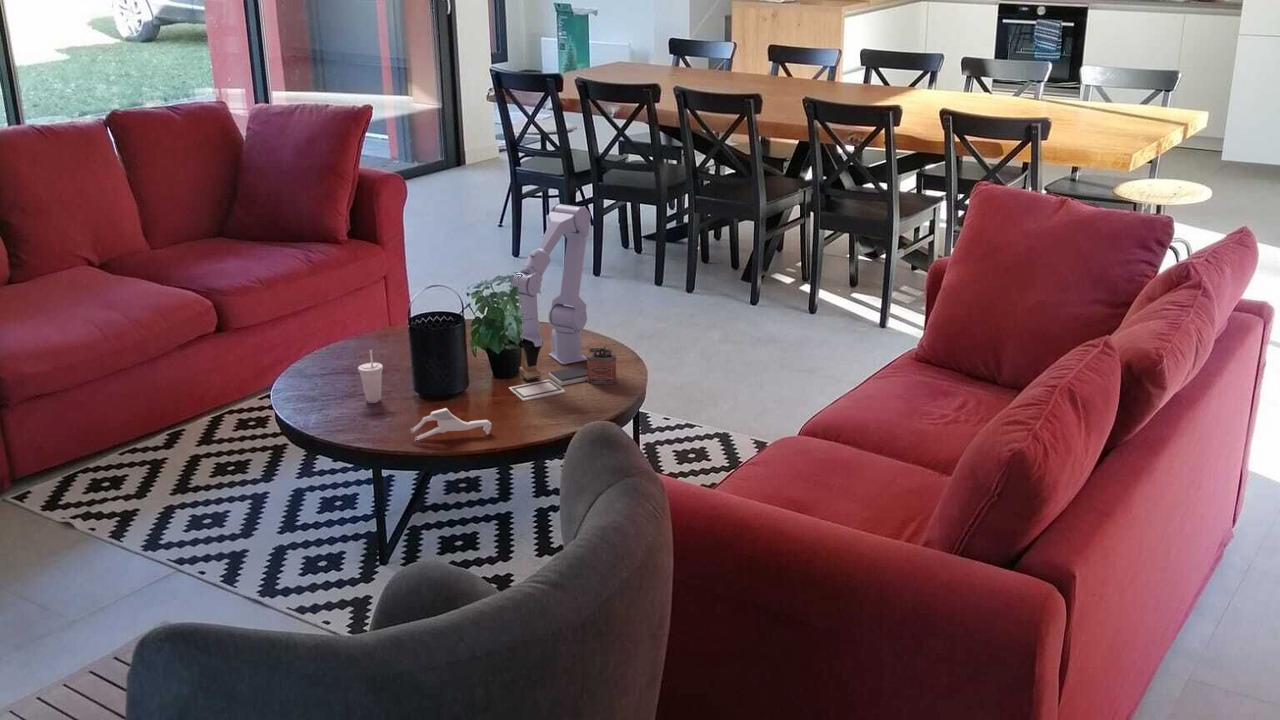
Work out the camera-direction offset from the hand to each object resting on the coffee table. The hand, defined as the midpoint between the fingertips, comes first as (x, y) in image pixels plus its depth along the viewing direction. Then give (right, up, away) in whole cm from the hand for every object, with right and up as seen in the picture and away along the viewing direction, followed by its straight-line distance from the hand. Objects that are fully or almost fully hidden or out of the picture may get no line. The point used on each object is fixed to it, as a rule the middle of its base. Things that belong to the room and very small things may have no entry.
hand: (529, 363), depth 335 cm
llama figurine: (-16, -18, -34) cm, 42 cm away
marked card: (+3, -7, -7) cm, 10 cm away
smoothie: (-40, -10, -12) cm, 43 cm away
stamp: (0, -3, +1) cm, 3 cm away
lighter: (+20, -5, -1) cm, 20 cm away
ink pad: (+11, -4, +2) cm, 12 cm away
